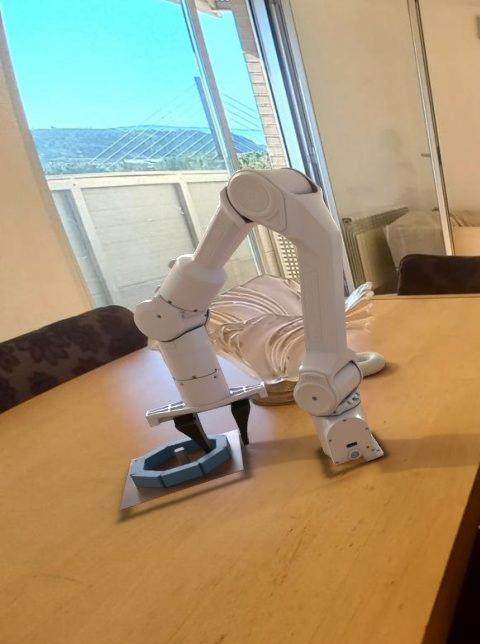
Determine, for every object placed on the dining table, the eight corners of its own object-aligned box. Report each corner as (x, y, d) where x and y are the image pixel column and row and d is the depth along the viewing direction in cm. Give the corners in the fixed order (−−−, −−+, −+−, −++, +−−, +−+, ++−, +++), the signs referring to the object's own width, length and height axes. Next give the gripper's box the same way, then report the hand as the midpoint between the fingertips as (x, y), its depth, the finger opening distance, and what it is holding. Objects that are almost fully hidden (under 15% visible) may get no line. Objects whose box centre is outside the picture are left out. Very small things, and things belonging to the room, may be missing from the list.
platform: (247, 477, 73) (237, 454, 72) (123, 519, 65) (109, 494, 64) (241, 436, 85) (232, 415, 83) (135, 467, 77) (123, 444, 75)
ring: (232, 466, 74) (228, 455, 73) (133, 498, 67) (126, 486, 66) (229, 436, 82) (225, 426, 81) (140, 462, 75) (135, 452, 75)
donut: (329, 379, 107) (367, 381, 105) (325, 365, 105) (363, 367, 103) (360, 361, 116) (396, 363, 114) (356, 348, 114) (392, 350, 112)
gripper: (253, 353, 79) (278, 423, 85) (135, 378, 71) (171, 454, 76) (256, 365, 74) (283, 439, 80) (130, 394, 66) (169, 474, 71)
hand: (229, 447), depth 78 cm, fingers open, 4 cm apart
